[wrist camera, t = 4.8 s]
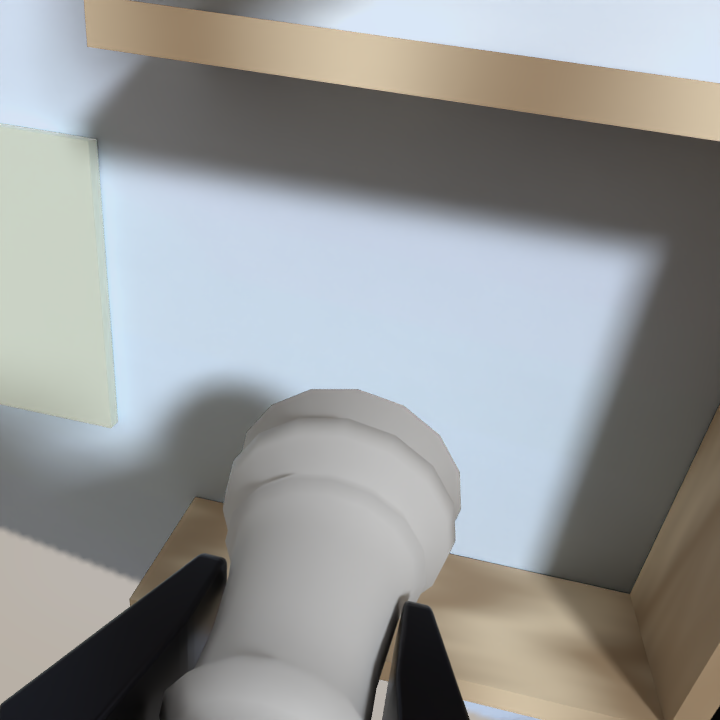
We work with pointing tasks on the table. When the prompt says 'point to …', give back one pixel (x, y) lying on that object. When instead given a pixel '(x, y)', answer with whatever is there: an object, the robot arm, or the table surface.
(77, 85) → the table surface
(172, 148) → the table surface
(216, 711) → the rook chess piece
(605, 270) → the table surface
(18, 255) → the sage mat
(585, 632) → the open box
